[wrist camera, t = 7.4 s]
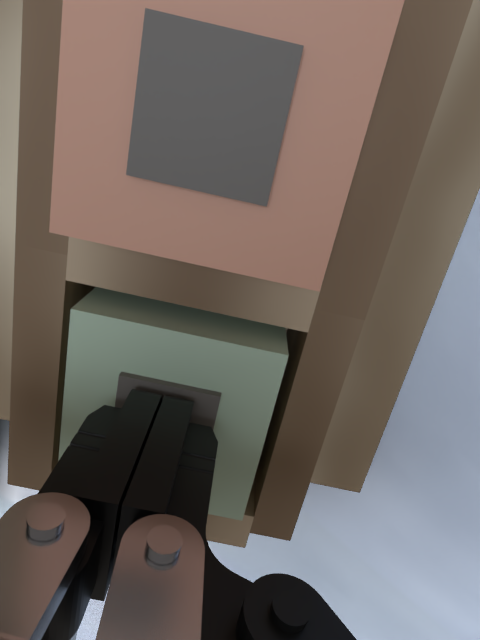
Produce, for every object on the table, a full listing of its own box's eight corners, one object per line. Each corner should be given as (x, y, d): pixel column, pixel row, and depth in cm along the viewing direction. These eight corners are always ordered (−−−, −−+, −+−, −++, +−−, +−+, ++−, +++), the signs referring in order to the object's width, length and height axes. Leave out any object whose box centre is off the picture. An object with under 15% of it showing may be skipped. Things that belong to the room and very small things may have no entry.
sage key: (283, 316, 13) (289, 359, 10) (245, 460, 15) (241, 526, 12) (106, 277, 13) (66, 311, 10) (89, 428, 14) (52, 488, 12)
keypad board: (666, -357, 10) (977, -742, 5) (352, 472, 18) (380, 574, 14) (7, -538, 9) (-208, -1108, 5) (-8, 398, 17) (-94, 479, 13)
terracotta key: (374, 13, 9) (418, -38, 6) (307, 259, 11) (320, 295, 8) (121, -48, 9) (63, -125, 6) (96, 212, 11) (44, 234, 8)
